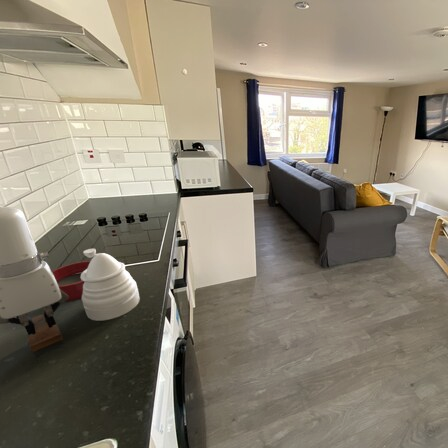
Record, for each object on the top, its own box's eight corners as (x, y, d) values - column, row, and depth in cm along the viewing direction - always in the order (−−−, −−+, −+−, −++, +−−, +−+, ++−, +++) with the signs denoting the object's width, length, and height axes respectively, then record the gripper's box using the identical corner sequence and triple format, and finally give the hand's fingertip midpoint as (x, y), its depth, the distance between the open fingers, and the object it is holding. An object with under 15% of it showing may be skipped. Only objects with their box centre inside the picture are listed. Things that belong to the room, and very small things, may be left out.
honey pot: (80, 326, 68) (59, 265, 61) (92, 298, 78) (75, 244, 72) (138, 312, 73) (123, 255, 66) (141, 287, 84) (129, 236, 77)
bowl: (34, 305, 75) (27, 289, 73) (66, 277, 89) (61, 262, 87) (94, 299, 78) (89, 283, 76) (116, 272, 92) (112, 258, 90)
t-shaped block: (27, 331, 63) (23, 321, 61) (55, 321, 66) (51, 310, 65) (34, 358, 56) (29, 346, 55) (64, 344, 60) (60, 333, 58)
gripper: (61, 247, 64) (80, 308, 71) (-43, 272, 53) (-7, 342, 59) (68, 257, 60) (88, 321, 66) (-43, 287, 48) (-5, 361, 55)
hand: (43, 330), depth 63 cm, fingers closed on t-shaped block, 2 cm apart
